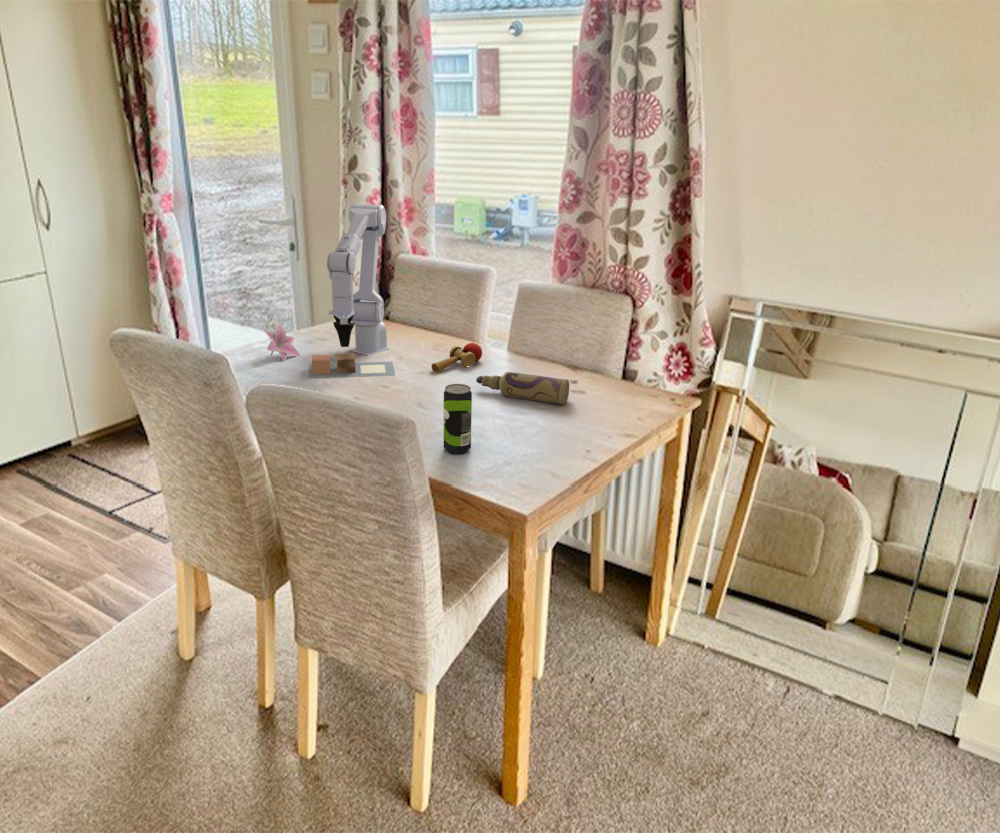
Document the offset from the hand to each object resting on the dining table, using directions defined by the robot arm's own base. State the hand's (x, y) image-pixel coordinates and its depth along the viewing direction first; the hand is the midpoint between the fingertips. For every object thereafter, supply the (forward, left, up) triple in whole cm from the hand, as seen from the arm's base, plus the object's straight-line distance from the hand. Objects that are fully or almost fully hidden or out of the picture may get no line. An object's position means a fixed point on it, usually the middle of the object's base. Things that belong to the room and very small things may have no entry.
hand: (344, 342), depth 221 cm
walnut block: (0, 0, -8) cm, 8 cm away
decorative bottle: (-18, +50, -9) cm, 54 cm away
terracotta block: (+5, -5, -8) cm, 11 cm away
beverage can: (+20, +58, -9) cm, 62 cm away
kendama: (-25, +21, -9) cm, 34 cm away
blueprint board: (-1, +1, -9) cm, 9 cm away
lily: (+5, -23, -9) cm, 25 cm away
